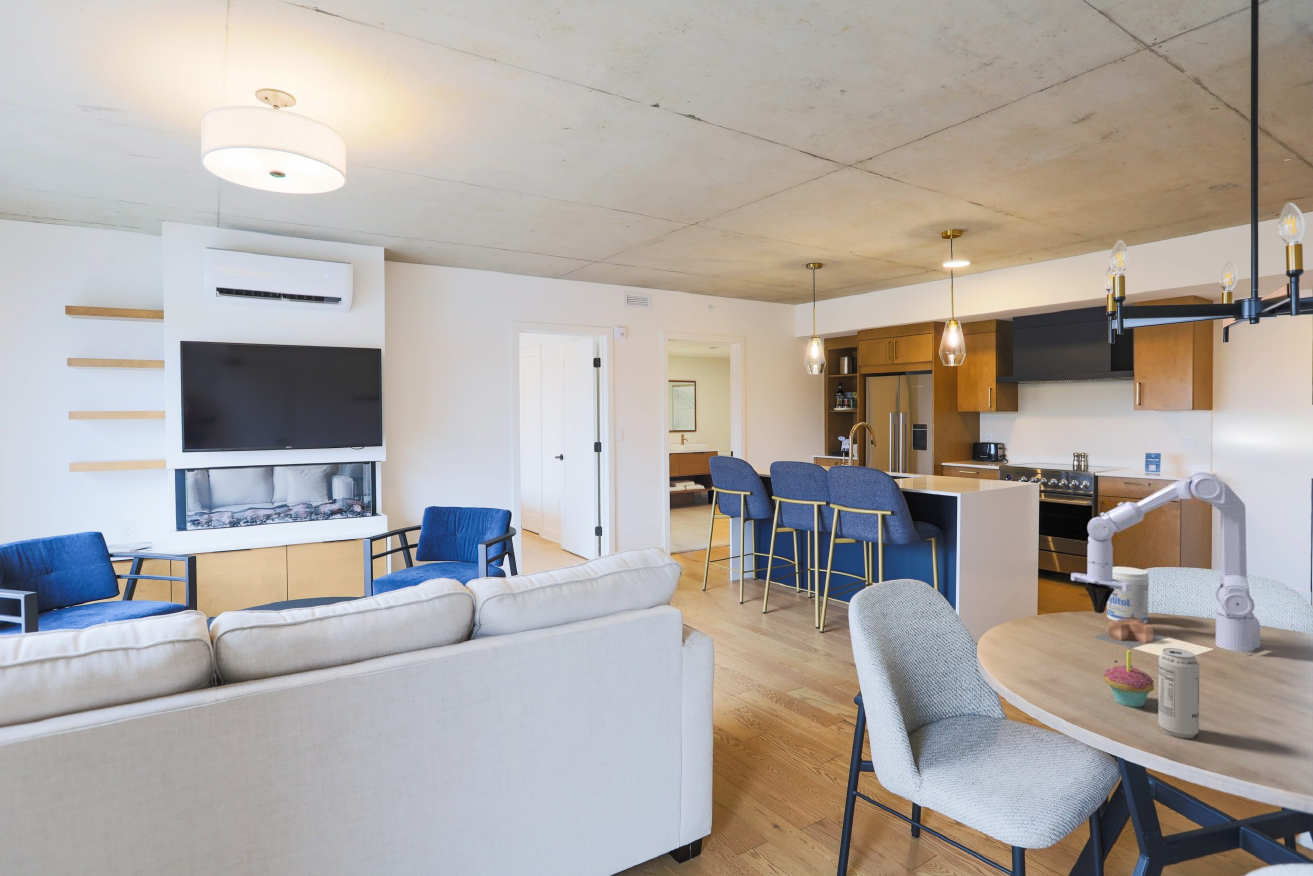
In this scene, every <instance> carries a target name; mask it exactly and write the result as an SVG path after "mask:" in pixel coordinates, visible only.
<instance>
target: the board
mask: <svg viewBox="0 0 1313 876" xmlns="http://www.w3.org/2000/svg"><path fill="white" fill-rule="evenodd" d="M1092 638H1094V639H1097V640H1101V641H1106V642H1107V643H1108V642H1109V643H1113V644H1116V645H1120V646H1124V647H1126V648H1131V649H1134V650H1137V651H1142V652H1145V653H1149V654H1152V655H1156V656H1158V657H1160V655H1161V654H1162V653H1163V649H1165V648H1176V649H1182V650H1187V651H1190V652H1192V653H1194V654H1195V656H1197V655H1202V654H1204V653H1207V652H1210V651H1213V650H1215V648H1211V647H1208V646H1203V645H1199V644H1195V643H1192V642H1187V641H1184V640H1180V639H1175V638H1171V637H1167V636H1163V635H1160V634H1156V633H1153V641H1152V642H1148V643H1142V642H1138V641H1134V640H1131V639H1126V640H1123V641H1119V640H1115V639H1112V638H1109V631H1108V632H1106V633H1101V634H1097V635H1094V636H1092Z"/></svg>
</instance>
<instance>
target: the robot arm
mask: <svg viewBox="0 0 1313 876" xmlns="http://www.w3.org/2000/svg"><path fill="white" fill-rule="evenodd" d="M1192 495H1193V496H1194V497H1196V499H1198V500H1201V501H1204V502H1206V503H1208V504H1210V505H1211V506H1212V507H1215V508H1216V509H1217V510H1218V511H1220V547H1221V548H1220V549H1221V550H1220V552H1221V575H1220V584H1219V587H1218V588H1217V589H1216V592H1215V596H1216V600H1217V601H1218V602H1219V603H1220V605H1219V607H1218V608H1216V609H1215V646H1217V647H1219V648H1221V649H1223V650H1227V651H1232V652H1239V653H1240V652H1241V653H1251V652H1253V651H1254V650H1255V649H1257V648H1260V647H1261V624H1260V621H1259V618H1257V617H1256V616H1255V614H1254V613H1253V612H1254V610H1255V606H1256V605H1255V602H1254V600H1253V598H1252V597H1251V595H1250V594H1251V593H1250V586H1249V581H1248V578H1247V577H1248V575H1247V574H1248V573H1247V527H1246V520H1247V519H1246V514H1247V513H1246V505H1245V503H1244V502H1243V501H1242V499H1241V498H1240V497H1239V496H1238V495H1237V494H1236V493H1235V491H1234V490H1233V489H1232V488H1231V487H1230V485H1228V483H1226V482H1224V481H1223V480H1222V479H1219V478H1218V477H1216V476H1214V475H1213V474H1212V473H1209V472H1202V471H1201V472H1197V473H1194V474H1192V475H1191V476H1189V477H1184V478H1182V479H1179V480H1176V481H1175V482H1173V483H1171V484H1169V485H1167V486H1164V488H1160V490H1157V491H1156V492H1154V493H1152V494H1150V495H1148V496H1147V497H1145V498H1143V499H1141V500H1140V501H1137V502H1132V501H1127V502H1123V501H1121V502H1119V503H1117V507H1114V508H1113V509H1110V510H1108V511H1106V512H1104V511H1103V512H1100V514H1099V515H1100V516H1096V517H1093V518H1091V519H1090V520H1089V521H1088V523H1087V527H1086V528H1087V533H1088V537H1087V541H1088V543H1087V551H1086V552H1087V556H1086V557H1087V566H1086V567H1087V569H1086V571H1087V572H1086V573H1087V574H1086V573H1079V572H1071V573H1070V581H1072V582H1073V581H1074V582H1075V581H1077V582H1080V583H1081V582H1082V583H1085V584H1087V585H1085V587H1084V588H1085V590H1086V593H1088V596H1089V597H1090V600H1091V603H1092V607H1093V610H1094V613H1097V614H1103V613H1105V610H1106V608H1107V602H1108V599H1109V597H1110V596H1111V594H1112V593H1113V591H1114V589H1118V590H1122V591H1124V592H1127V591H1130V589H1131V584H1130V583H1125V582H1122V581H1119V580H1115V579H1113V567H1114V566H1113V565H1114V564H1113V563H1114V561H1113V559H1114V558H1113V557H1114V555H1113V553H1114V547H1113V544H1112V537H1113V536H1114V533H1120V532H1121V531H1124V530H1127V529H1128V528H1130V527H1132V526H1134V525H1136V524H1138V523H1141V522H1142V521H1144V517H1145V515H1146V513H1148V512H1152V511H1153V510H1155V509H1157V508H1159V507H1161V506H1164V505H1166V504H1169V503H1171V502H1173V501H1175V500H1192ZM1264 651H1265V649H1263V650H1260V651H1258V652H1257V651H1256V652H1254V653H1251V654H1249V655H1246V656H1247V657H1250V656H1253V655H1255V654H1258V653H1261V652H1264ZM1246 656H1244V657H1245V658H1246Z"/></svg>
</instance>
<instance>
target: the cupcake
mask: <svg viewBox="0 0 1313 876" xmlns="http://www.w3.org/2000/svg"><path fill="white" fill-rule="evenodd" d="M1127 649H1128V650H1127V651H1126V665H1118V666H1114V667H1111V668H1108V669H1107V670H1106V671H1105V672H1104V673H1103V681H1104V682H1105V683H1107V685H1109V687H1110V689H1111V691H1112V693H1113V694H1112V695H1113V696H1114V699H1115V702H1116V703H1118V704H1120V705H1123V706H1126V707H1127V706H1128V707H1130V708H1140V707H1143V706H1144V704H1145V701H1146V699H1147V696H1148V695H1149V693H1150V692H1152V691H1154V690H1155V685H1154V683H1155V682H1154V679H1152V677H1151V676H1149V674H1148V673H1145V672H1143V670H1139V668H1136V667H1132V662H1131V661H1132V650H1131V649H1130V647H1127Z"/></svg>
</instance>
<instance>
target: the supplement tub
mask: <svg viewBox="0 0 1313 876" xmlns="http://www.w3.org/2000/svg"><path fill="white" fill-rule="evenodd" d="M1113 579H1115V580H1119V581H1122V582H1125V583H1130V584H1131V589H1130V591H1127V592H1124V591H1122V590H1118V589H1114V591H1113V593H1112V594H1111V596H1110V597H1109V599H1108V602H1107V604H1106V617H1107V619H1109V620H1112V621H1116V620H1120V619H1124V618H1128V617H1134V618H1139V619H1143V623H1145V624H1148V618H1149V616H1148V615H1149V614H1148V612H1149V585H1150V582H1149V572H1148V571H1147V570H1145V569H1140V568H1136V567H1132V566H1131V567H1129V566H1128V567H1127V566H1113Z"/></svg>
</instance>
